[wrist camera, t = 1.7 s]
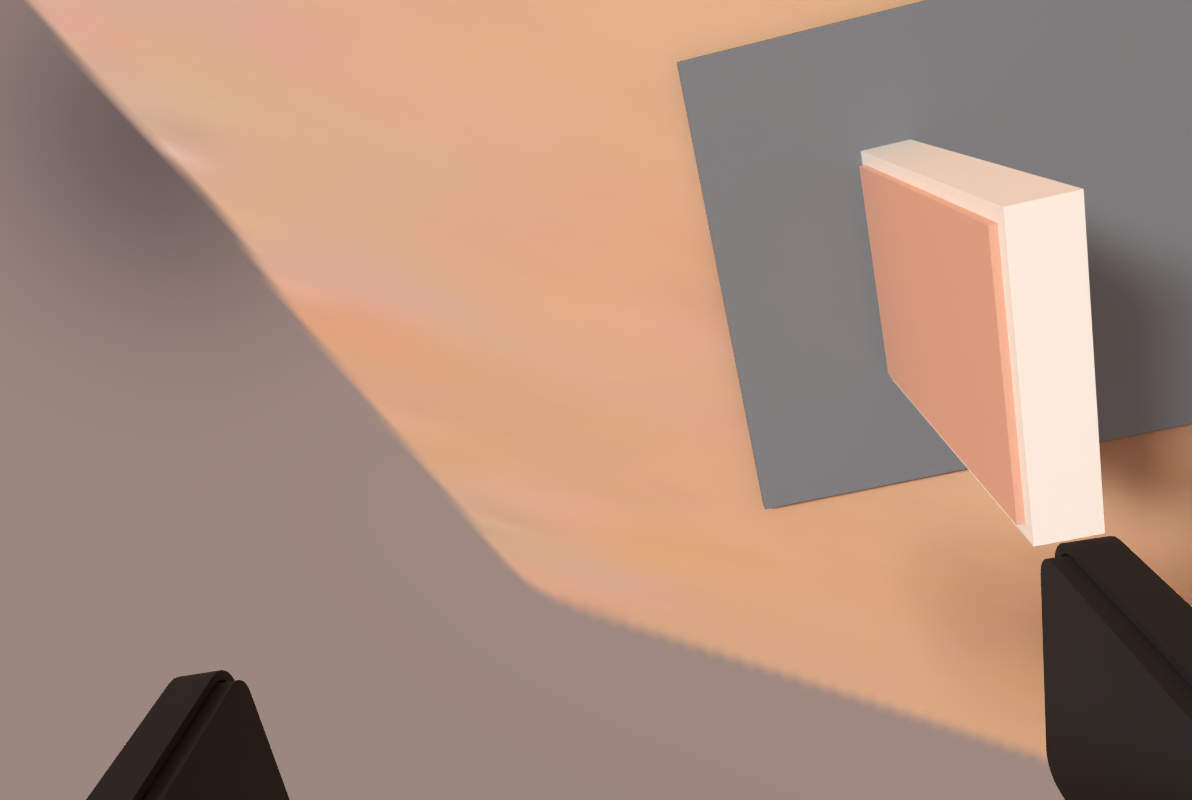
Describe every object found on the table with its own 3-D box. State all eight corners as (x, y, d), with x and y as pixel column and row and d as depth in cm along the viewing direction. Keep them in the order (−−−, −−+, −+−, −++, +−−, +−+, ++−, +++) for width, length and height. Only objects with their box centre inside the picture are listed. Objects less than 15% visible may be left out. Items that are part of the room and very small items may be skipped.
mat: (1336, -102, 28) (1346, -104, 28) (1324, 392, 33) (1332, 395, 33) (676, 62, 30) (677, 62, 30) (763, 504, 35) (764, 509, 35)
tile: (910, 139, 30) (1083, 189, 19) (938, 369, 33) (1104, 533, 22) (854, 152, 31) (993, 209, 19) (886, 380, 33) (1025, 548, 22)
